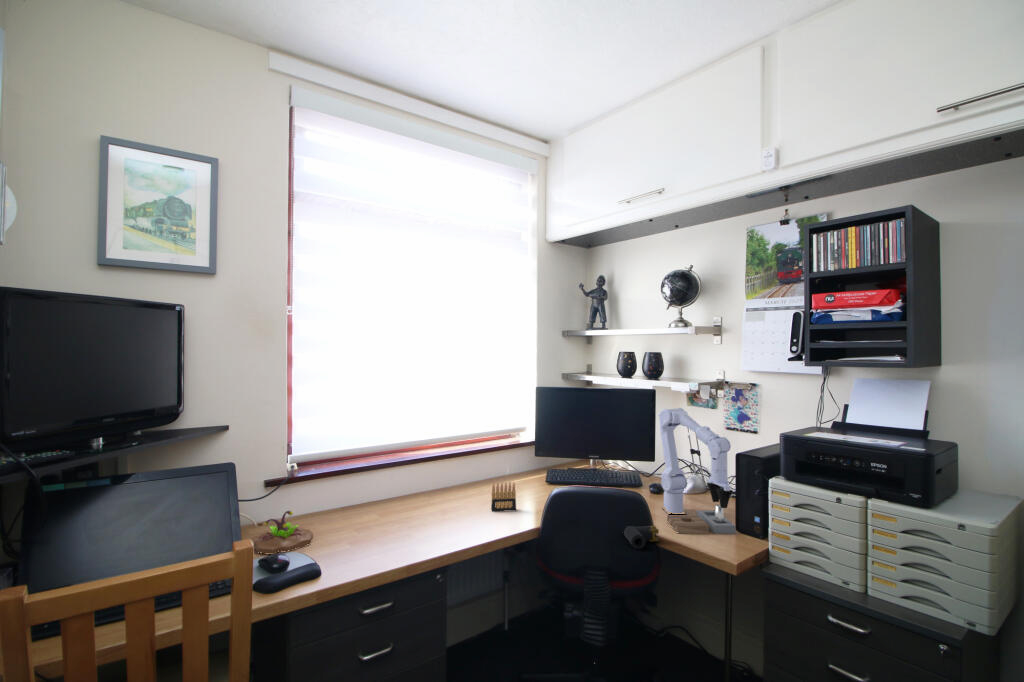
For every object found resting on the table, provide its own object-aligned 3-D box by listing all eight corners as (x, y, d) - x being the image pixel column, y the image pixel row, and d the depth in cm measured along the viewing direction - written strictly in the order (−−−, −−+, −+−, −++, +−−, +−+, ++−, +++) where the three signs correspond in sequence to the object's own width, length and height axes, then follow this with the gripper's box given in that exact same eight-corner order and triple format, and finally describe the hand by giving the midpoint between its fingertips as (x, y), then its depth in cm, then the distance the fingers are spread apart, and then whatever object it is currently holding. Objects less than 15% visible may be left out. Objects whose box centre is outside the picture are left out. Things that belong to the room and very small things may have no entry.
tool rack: (696, 517, 204) (696, 510, 204) (716, 517, 204) (716, 510, 204) (714, 533, 186) (714, 525, 186) (735, 533, 186) (735, 525, 186)
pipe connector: (650, 519, 187) (663, 533, 172) (650, 533, 187) (664, 548, 172) (620, 520, 186) (631, 534, 171) (620, 534, 186) (631, 550, 171)
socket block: (667, 522, 198) (667, 515, 198) (697, 522, 198) (697, 515, 198) (677, 533, 186) (676, 525, 186) (708, 533, 186) (708, 525, 186)
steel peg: (714, 527, 192) (713, 504, 192) (721, 528, 192) (721, 504, 192) (717, 530, 189) (716, 506, 189) (725, 530, 189) (724, 507, 189)
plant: (321, 544, 176) (321, 512, 176) (262, 559, 163) (262, 525, 163) (301, 529, 191) (301, 500, 191) (245, 542, 178) (246, 511, 178)
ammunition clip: (515, 509, 215) (515, 481, 215) (516, 510, 213) (516, 482, 214) (491, 510, 214) (491, 482, 214) (491, 511, 212) (491, 483, 212)
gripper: (701, 465, 198) (702, 499, 198) (716, 473, 184) (716, 510, 183) (719, 465, 198) (719, 499, 198) (735, 473, 184) (736, 510, 183)
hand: (719, 504), depth 191 cm, fingers open, 7 cm apart
